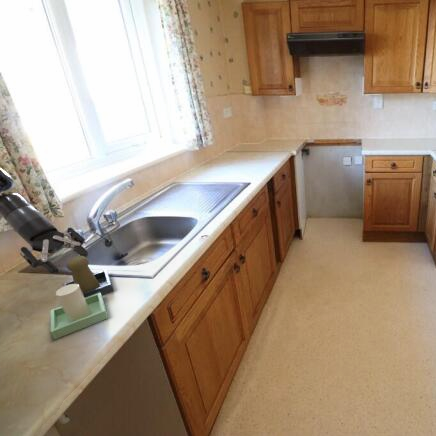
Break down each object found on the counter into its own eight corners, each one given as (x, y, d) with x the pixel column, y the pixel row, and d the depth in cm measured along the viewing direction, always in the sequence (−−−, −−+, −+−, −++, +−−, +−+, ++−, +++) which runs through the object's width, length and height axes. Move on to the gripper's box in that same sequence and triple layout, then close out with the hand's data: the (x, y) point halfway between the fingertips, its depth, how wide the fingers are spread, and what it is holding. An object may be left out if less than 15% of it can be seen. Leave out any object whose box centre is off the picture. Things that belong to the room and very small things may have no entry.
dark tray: (67, 308, 91) (63, 301, 90) (65, 290, 99) (62, 283, 98) (113, 291, 98) (111, 284, 97) (109, 275, 105) (106, 269, 104)
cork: (103, 282, 101) (91, 252, 97) (94, 294, 96) (81, 262, 91) (83, 284, 101) (69, 254, 96) (72, 296, 95) (57, 265, 90)
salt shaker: (69, 325, 84) (55, 298, 80) (68, 315, 88) (55, 288, 84) (92, 316, 87) (79, 289, 83) (90, 307, 90) (78, 281, 87)
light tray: (54, 339, 80) (50, 332, 79) (53, 317, 88) (50, 310, 87) (108, 318, 87) (105, 310, 86) (103, 299, 94) (100, 292, 93)
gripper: (3, 228, 86) (48, 271, 87) (59, 208, 98) (98, 246, 99) (0, 243, 90) (44, 283, 91) (54, 221, 102) (92, 258, 103)
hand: (72, 264), depth 95 cm, fingers open, 8 cm apart
